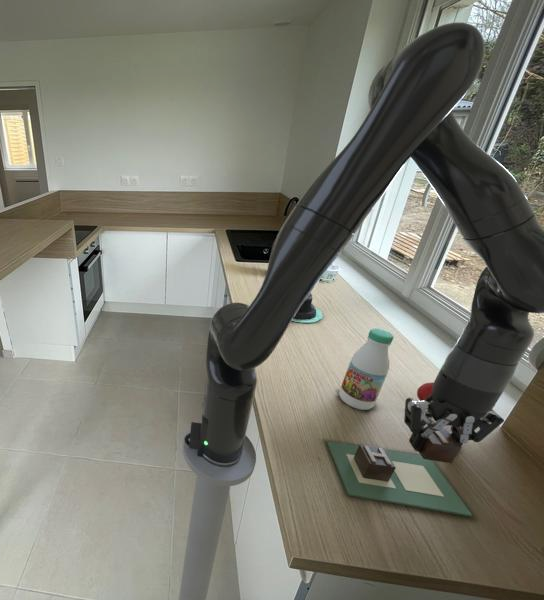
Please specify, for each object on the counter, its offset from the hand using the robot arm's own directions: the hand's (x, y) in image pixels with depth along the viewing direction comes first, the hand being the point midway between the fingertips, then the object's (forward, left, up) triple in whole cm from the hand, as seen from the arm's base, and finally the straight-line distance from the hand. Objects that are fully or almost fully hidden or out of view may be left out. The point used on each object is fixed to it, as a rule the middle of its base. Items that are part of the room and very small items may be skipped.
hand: (430, 449), depth 59 cm
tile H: (-8, 0, -8) cm, 11 cm away
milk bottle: (-2, +22, -8) cm, 24 cm away
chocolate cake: (-5, +73, -8) cm, 74 cm away
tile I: (0, 0, 0) cm, 0 cm away
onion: (+15, +23, -8) cm, 29 cm away
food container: (+19, +116, -8) cm, 118 cm away
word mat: (-4, 0, -8) cm, 9 cm away
